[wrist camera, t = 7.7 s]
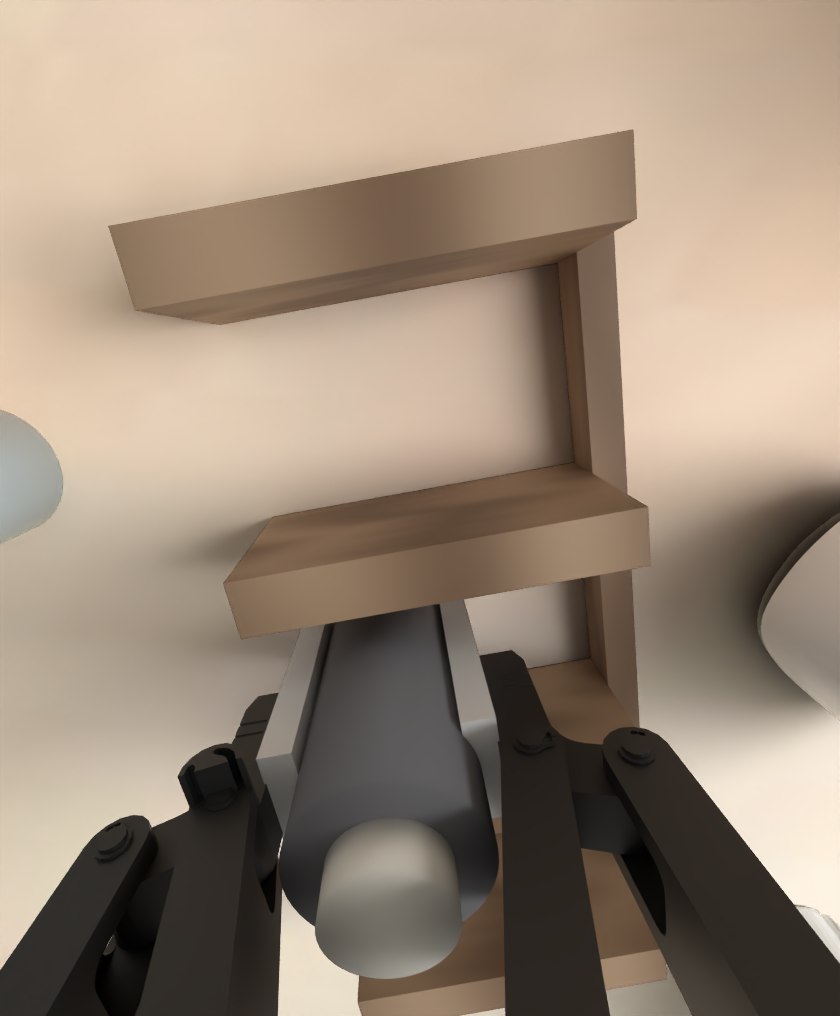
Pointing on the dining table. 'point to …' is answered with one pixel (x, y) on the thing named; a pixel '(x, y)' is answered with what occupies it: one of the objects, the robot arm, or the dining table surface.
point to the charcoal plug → (388, 803)
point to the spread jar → (807, 616)
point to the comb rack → (458, 507)
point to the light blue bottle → (26, 477)
